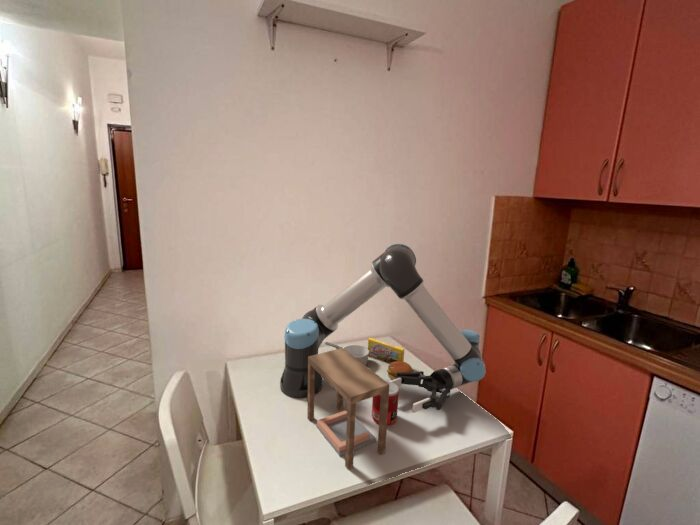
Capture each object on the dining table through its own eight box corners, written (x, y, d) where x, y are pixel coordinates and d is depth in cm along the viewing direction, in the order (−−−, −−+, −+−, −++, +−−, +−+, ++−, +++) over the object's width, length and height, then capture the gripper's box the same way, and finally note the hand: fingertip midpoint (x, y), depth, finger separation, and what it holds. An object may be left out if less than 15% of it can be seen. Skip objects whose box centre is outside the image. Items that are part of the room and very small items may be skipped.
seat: (349, 414, 116) (350, 407, 116) (375, 441, 105) (376, 433, 104) (316, 426, 110) (316, 419, 109) (339, 456, 99) (340, 448, 98)
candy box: (367, 356, 155) (367, 338, 153) (369, 355, 156) (370, 337, 155) (401, 368, 146) (402, 349, 144) (403, 366, 148) (405, 348, 146)
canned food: (395, 428, 111) (398, 396, 108) (369, 424, 112) (371, 392, 110) (397, 413, 118) (400, 382, 115) (373, 409, 119) (374, 379, 117)
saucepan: (332, 349, 161) (332, 337, 159) (373, 361, 151) (374, 348, 150) (317, 359, 151) (318, 347, 150) (360, 373, 142) (361, 360, 140)
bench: (340, 406, 120) (342, 347, 115) (385, 452, 101) (389, 384, 96) (307, 418, 114) (308, 356, 109) (348, 469, 94) (351, 397, 89)
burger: (417, 378, 139) (418, 367, 138) (399, 385, 134) (400, 373, 133) (400, 367, 147) (400, 356, 146) (382, 373, 142) (382, 362, 141)
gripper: (473, 407, 118) (425, 430, 106) (419, 372, 138) (374, 388, 127) (476, 387, 116) (427, 407, 105) (421, 354, 136) (375, 368, 125)
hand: (398, 397), depth 116 cm, fingers open, 13 cm apart
